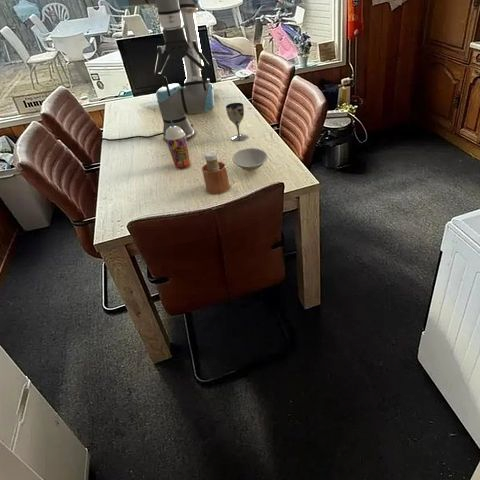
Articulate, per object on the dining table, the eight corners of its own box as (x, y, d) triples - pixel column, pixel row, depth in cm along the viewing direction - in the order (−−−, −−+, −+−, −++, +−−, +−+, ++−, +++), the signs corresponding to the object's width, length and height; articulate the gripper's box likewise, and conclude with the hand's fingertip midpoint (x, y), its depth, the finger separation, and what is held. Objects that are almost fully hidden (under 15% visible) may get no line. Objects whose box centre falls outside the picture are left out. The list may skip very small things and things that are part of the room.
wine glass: (245, 141, 181) (240, 108, 171) (229, 141, 183) (223, 108, 173) (249, 134, 187) (245, 102, 177) (233, 134, 189) (228, 102, 179)
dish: (231, 162, 166) (229, 151, 162) (264, 156, 167) (263, 145, 164) (237, 181, 152) (235, 169, 149) (272, 174, 154) (271, 163, 151)
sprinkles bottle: (209, 186, 150) (202, 153, 141) (220, 182, 151) (213, 149, 142) (213, 190, 147) (206, 157, 138) (224, 187, 148) (218, 153, 139)
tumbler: (203, 193, 147) (198, 172, 141) (211, 182, 153) (206, 161, 147) (225, 194, 145) (221, 172, 139) (232, 183, 152) (228, 161, 146)
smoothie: (183, 172, 162) (171, 124, 149) (169, 168, 166) (156, 122, 153) (196, 163, 168) (185, 117, 154) (182, 160, 171) (170, 114, 158)
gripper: (135, 34, 128) (154, 101, 142) (210, 24, 131) (221, 90, 145) (136, 30, 133) (154, 94, 148) (207, 20, 136) (218, 84, 151)
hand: (187, 92), depth 146 cm, fingers open, 13 cm apart
